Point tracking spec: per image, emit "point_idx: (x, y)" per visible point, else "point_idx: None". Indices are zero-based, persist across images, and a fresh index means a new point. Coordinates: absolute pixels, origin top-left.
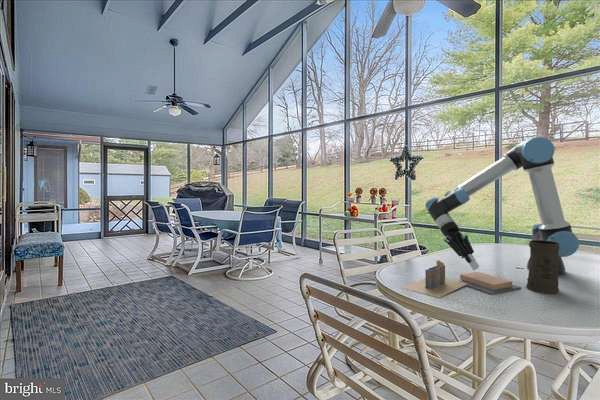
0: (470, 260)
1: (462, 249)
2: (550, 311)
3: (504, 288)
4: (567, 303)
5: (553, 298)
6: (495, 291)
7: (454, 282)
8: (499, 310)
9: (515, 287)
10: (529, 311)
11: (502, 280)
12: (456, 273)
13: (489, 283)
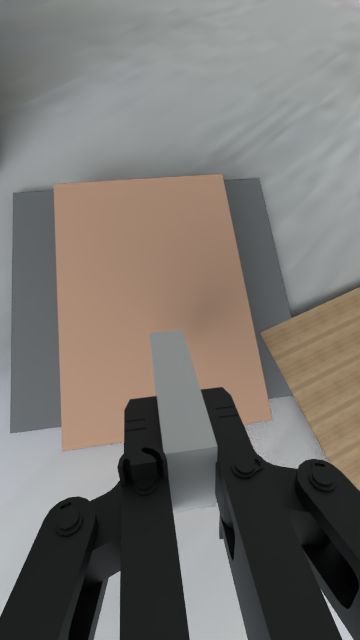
0: (211, 393)
1: (303, 558)
2: (177, 10)
3: None
4: (29, 29)
5: (18, 73)
6: None
7: (334, 376)
8: (348, 63)
9: (50, 199)
10: (250, 30)
11: (96, 214)
12: None
13: (226, 197)
